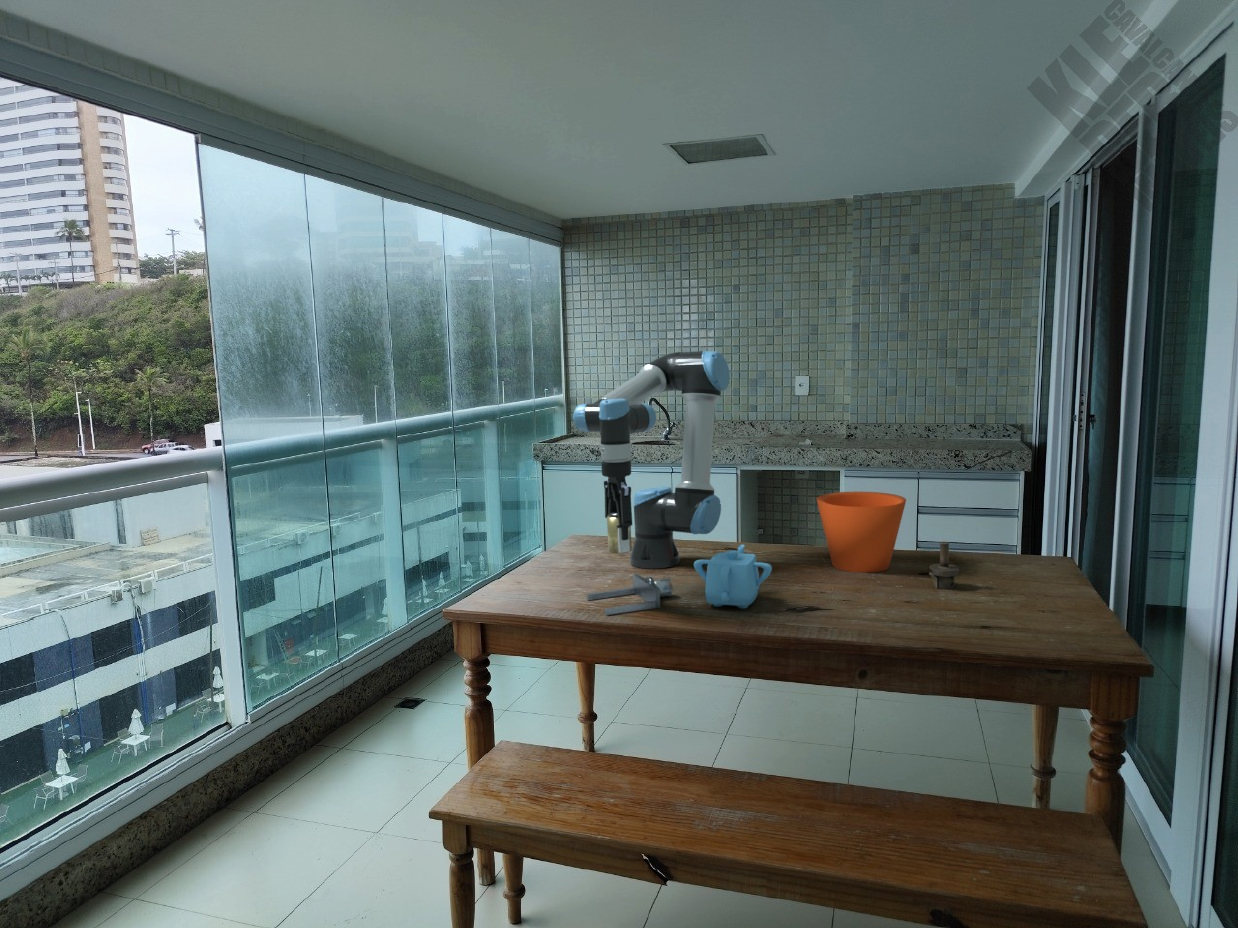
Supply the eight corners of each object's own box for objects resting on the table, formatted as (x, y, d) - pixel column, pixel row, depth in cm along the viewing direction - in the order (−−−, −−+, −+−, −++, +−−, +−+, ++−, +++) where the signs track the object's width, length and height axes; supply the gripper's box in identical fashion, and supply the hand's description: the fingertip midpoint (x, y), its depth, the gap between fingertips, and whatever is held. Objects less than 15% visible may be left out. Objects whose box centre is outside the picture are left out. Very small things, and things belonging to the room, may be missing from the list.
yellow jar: (626, 546, 216) (625, 509, 214) (635, 551, 210) (633, 513, 209) (605, 549, 214) (603, 512, 212) (613, 554, 208) (611, 516, 207)
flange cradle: (658, 588, 225) (657, 568, 225) (681, 603, 211) (681, 581, 211) (586, 599, 218) (585, 578, 218) (606, 615, 204) (605, 592, 203)
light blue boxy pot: (777, 607, 206) (777, 554, 204) (718, 615, 201) (717, 562, 199) (743, 588, 223) (743, 539, 221) (688, 596, 218) (687, 546, 216)
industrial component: (957, 583, 220) (957, 539, 219) (962, 590, 213) (963, 545, 212) (920, 582, 222) (920, 539, 221) (924, 590, 215) (924, 545, 214)
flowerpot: (914, 559, 246) (915, 494, 243) (892, 580, 225) (893, 509, 222) (832, 551, 259) (832, 489, 256) (804, 570, 238) (804, 503, 236)
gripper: (590, 457, 216) (593, 543, 219) (615, 465, 199) (618, 559, 202) (616, 455, 219) (620, 540, 222) (644, 463, 201) (647, 555, 204)
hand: (619, 549), depth 212 cm, fingers closed on yellow jar, 6 cm apart
